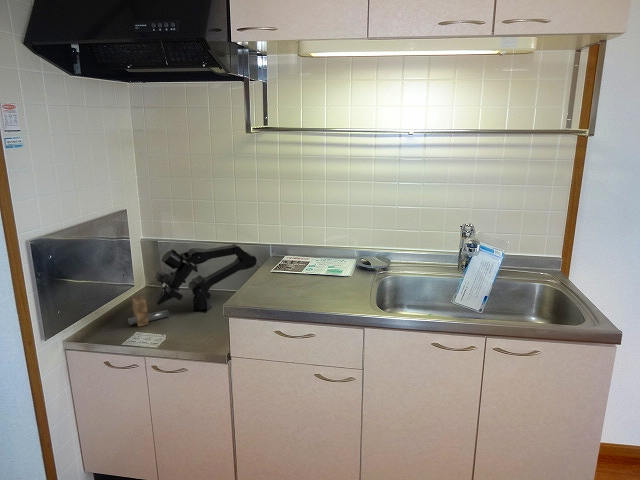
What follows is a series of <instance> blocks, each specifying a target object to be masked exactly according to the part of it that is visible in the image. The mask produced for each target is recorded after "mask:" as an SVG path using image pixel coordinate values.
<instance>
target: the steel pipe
mask: <svg viewBox="0 0 640 480" xmlns="http://www.w3.org/2000/svg"><path fill="white" fill-rule="evenodd" d="M169 317H170V311H169V310H168V309H167V310H160V311H156V312H151V313H148V322H153V321H157V320H161V319H165V318H169ZM127 321H128V325H129V326H135V325H137V318H136V317H134V316H133V317H129V318H127Z"/></svg>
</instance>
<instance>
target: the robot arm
mask: <svg viewBox="0 0 640 480" xmlns="http://www.w3.org/2000/svg"><path fill="white" fill-rule="evenodd" d="M228 256H229V257H230V256H235V257H236V256H237V257H236V259H235V260H234V261H233V262H231V263H229V264H227V265H225V266H224V267H222V268H220V269H218V270H216V271H215V272H213V273H211V274H209V275H207V276H204V277H203V276H202V275H197V276H196V277H194V278H191V281H190V282H188V286H187V289H188V290H189V292H190V293H191V294H192V296H193V299H192V305H193V306H192V307H193V309H192V312H197V313H204V314H205V313H207V312H208V311H209V310H211V308H212V307H213V306H212V305H211V296H212V294H211V293H210V292H209V290H210V289H211V287H213V286H214V285H216V284H218V283H219V282H221V281H223V280H225V279H227V278H229V277H230V276H232V275H234V274H235V273H237V272H239V271H244V270H249V269H251V268H253V267H255V266H256V265H257V258H256V256H255V255H253V253H250V252H248V251H245V250H243V249H242V248H241V246H239V245H237V244H235V243H233V244H231V245H224V246H219V247H212V248H201V247H200V248H199V247H198V248H196V247H195V248H190V249H188V251H186V252H182V253H178V252H177V251H176V250H175V249H174V248H171V249H170V250H169V251H167V252H165V253H164V254H163V256H162V258H161V262H162V263H163V264H165V265H166V266H168V267H170V268H171V269H172V270H174V271H170V273H168V272H164V271H159V270H156V274H155V277H154V279H155V280H156V281H157V282H158V283H161V284H162V285H161V284H160V285H159V287H160V293H159V295H158V297H157V300H156V305H158V306H160V305H162V304H163V303H165V302H167V301H169V300H171V299H173V298H175V299H176V300H178V301H179V302H180V301H182V299H183V298H184V295H183V293H182V292H181V291H180V290H181V289H180V288H181V286H182V285H183V283H184V284H185V283H186V282H187V281H186V280H187V279H188V277H189V276H190V274H191V273H192V272H193V271H194V272H195V273H198V272H199V271H198V265H200V264H204V263H206V262H208V261H209V260H212V259H217V258H223V257H228Z"/></svg>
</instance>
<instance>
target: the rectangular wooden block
mask: <svg viewBox="0 0 640 480" xmlns="http://www.w3.org/2000/svg"><path fill="white" fill-rule="evenodd" d="M131 300H132V308H133V317H136V318H137V324H136V325H137V327H143V326H147V325H149V321H148V314H149V313H148V305H147V301H146V299H145V298H144V296H143V295H139V296H134V297H131Z"/></svg>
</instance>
